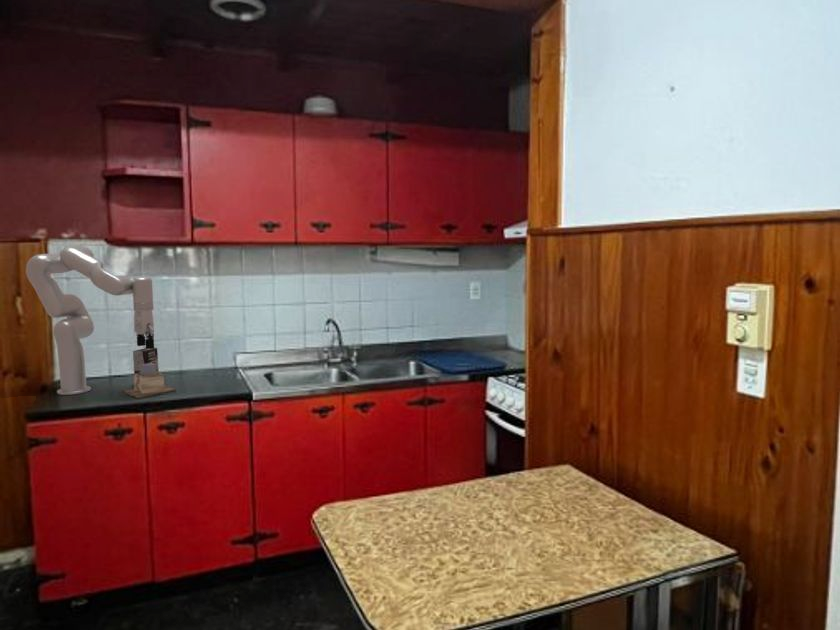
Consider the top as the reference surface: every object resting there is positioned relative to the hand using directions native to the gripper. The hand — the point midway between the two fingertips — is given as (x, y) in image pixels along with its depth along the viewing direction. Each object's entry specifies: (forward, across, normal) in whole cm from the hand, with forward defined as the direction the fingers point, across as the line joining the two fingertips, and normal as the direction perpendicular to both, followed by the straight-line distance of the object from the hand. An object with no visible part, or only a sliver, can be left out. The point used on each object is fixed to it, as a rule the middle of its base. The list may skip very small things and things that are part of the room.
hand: (145, 347), depth 254 cm
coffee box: (+20, -15, +6) cm, 26 cm away
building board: (+19, +1, 0) cm, 19 cm away
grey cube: (+12, 0, 0) cm, 12 cm away
